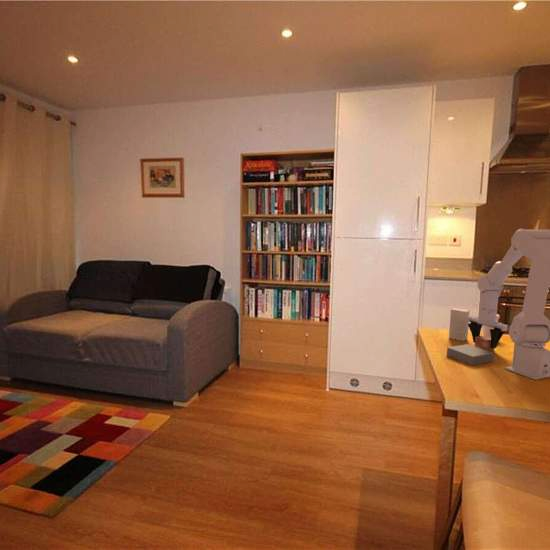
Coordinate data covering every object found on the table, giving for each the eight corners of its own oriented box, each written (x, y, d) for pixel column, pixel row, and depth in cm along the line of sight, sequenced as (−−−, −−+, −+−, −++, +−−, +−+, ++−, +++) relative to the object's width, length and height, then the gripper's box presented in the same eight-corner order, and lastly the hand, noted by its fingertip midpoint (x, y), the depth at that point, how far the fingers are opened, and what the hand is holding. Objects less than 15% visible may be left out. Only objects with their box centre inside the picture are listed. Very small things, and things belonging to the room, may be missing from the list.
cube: (493, 350, 136) (495, 338, 135) (485, 352, 134) (486, 340, 133) (482, 347, 140) (483, 335, 139) (474, 348, 138) (475, 336, 137)
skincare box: (467, 339, 149) (470, 310, 147) (464, 341, 146) (467, 311, 144) (451, 336, 153) (453, 307, 151) (448, 338, 150) (450, 309, 148)
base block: (493, 361, 124) (493, 352, 124) (472, 365, 120) (473, 356, 120) (466, 352, 133) (467, 344, 133) (446, 355, 129) (447, 347, 129)
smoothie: (492, 335, 155) (496, 302, 153) (500, 340, 149) (504, 305, 147) (476, 334, 156) (479, 302, 154) (483, 339, 149) (487, 305, 148)
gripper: (514, 312, 130) (511, 349, 132) (477, 304, 143) (474, 338, 145) (501, 313, 127) (497, 352, 129) (464, 305, 140) (461, 340, 142)
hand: (484, 345), depth 137 cm, fingers open, 6 cm apart
